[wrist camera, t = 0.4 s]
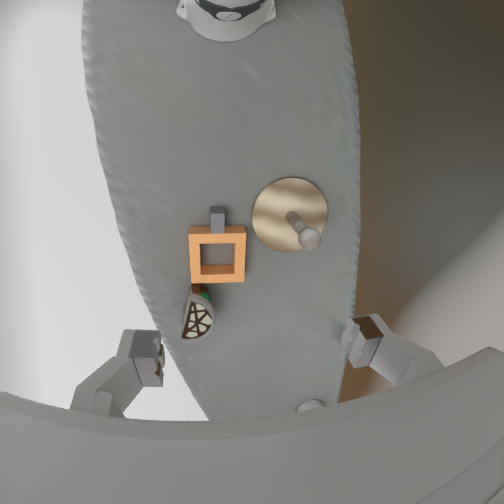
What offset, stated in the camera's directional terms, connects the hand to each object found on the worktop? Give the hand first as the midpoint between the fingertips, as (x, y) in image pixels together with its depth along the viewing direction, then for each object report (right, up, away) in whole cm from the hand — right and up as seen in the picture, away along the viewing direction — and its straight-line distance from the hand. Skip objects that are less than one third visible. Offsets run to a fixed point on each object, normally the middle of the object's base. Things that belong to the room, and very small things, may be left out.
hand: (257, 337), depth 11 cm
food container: (-12, -7, +52) cm, 54 cm away
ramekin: (+22, -56, +83) cm, 103 cm away
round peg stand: (+8, +11, +46) cm, 48 cm away
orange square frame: (-8, +6, +46) cm, 47 cm away
